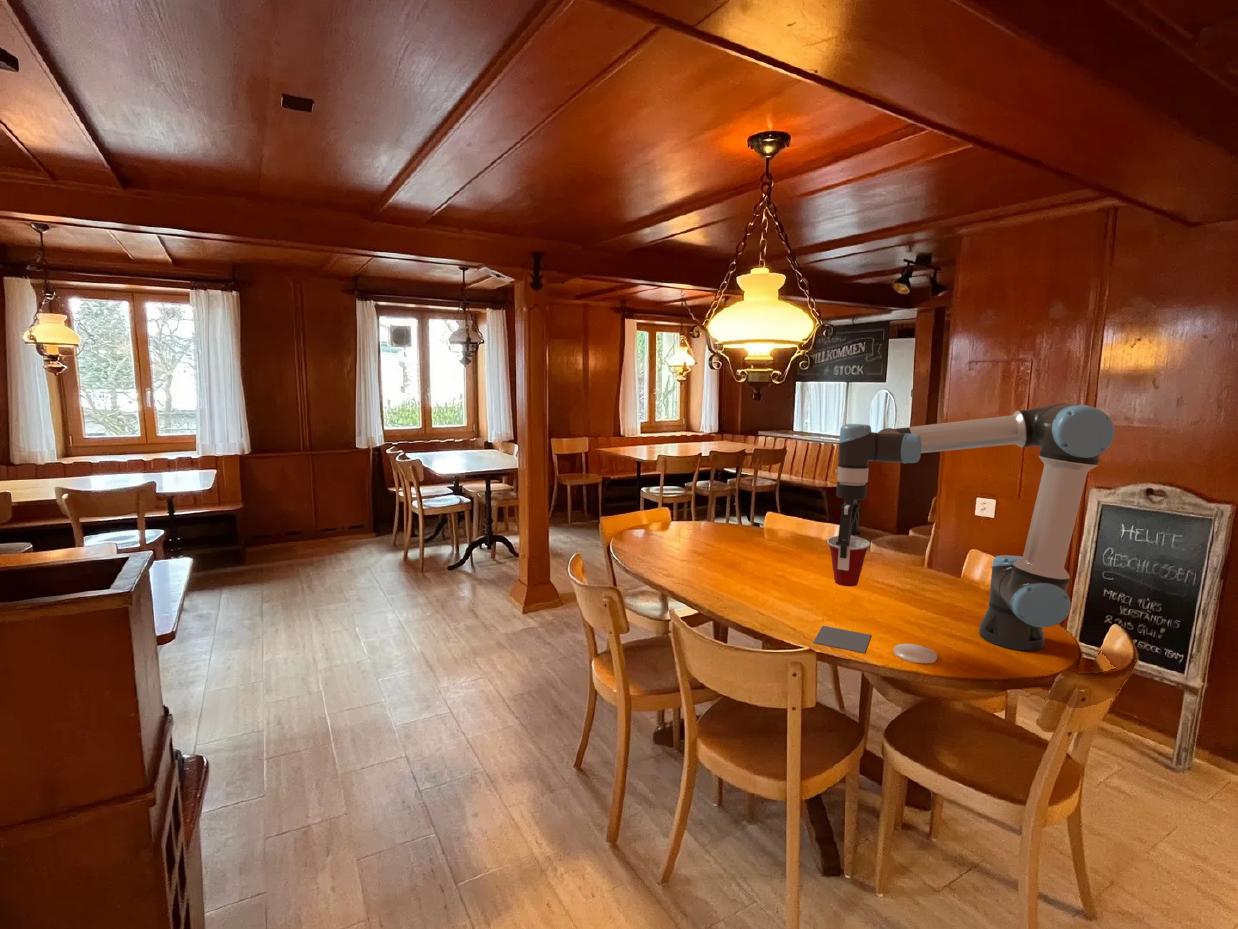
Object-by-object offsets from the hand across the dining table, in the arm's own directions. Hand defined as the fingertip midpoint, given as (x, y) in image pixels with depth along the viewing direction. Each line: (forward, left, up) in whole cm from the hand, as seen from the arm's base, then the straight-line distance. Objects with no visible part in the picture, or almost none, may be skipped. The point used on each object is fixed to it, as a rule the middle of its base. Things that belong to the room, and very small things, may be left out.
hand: (847, 563), depth 166 cm
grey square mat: (0, 0, -22) cm, 22 cm away
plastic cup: (0, 0, -6) cm, 6 cm away
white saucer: (-18, +1, -22) cm, 28 cm away
